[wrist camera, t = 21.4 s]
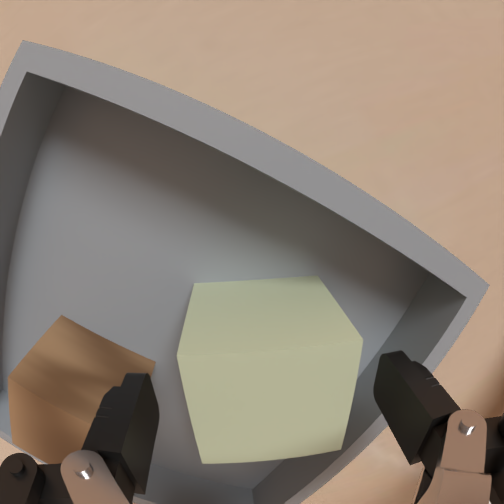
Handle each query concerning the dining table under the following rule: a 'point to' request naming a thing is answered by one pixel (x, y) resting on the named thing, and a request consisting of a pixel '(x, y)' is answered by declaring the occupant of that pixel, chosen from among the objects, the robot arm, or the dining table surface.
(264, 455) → the sage block
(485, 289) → the tray
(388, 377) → the robot arm
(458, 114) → the dining table surface
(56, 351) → the walnut block
